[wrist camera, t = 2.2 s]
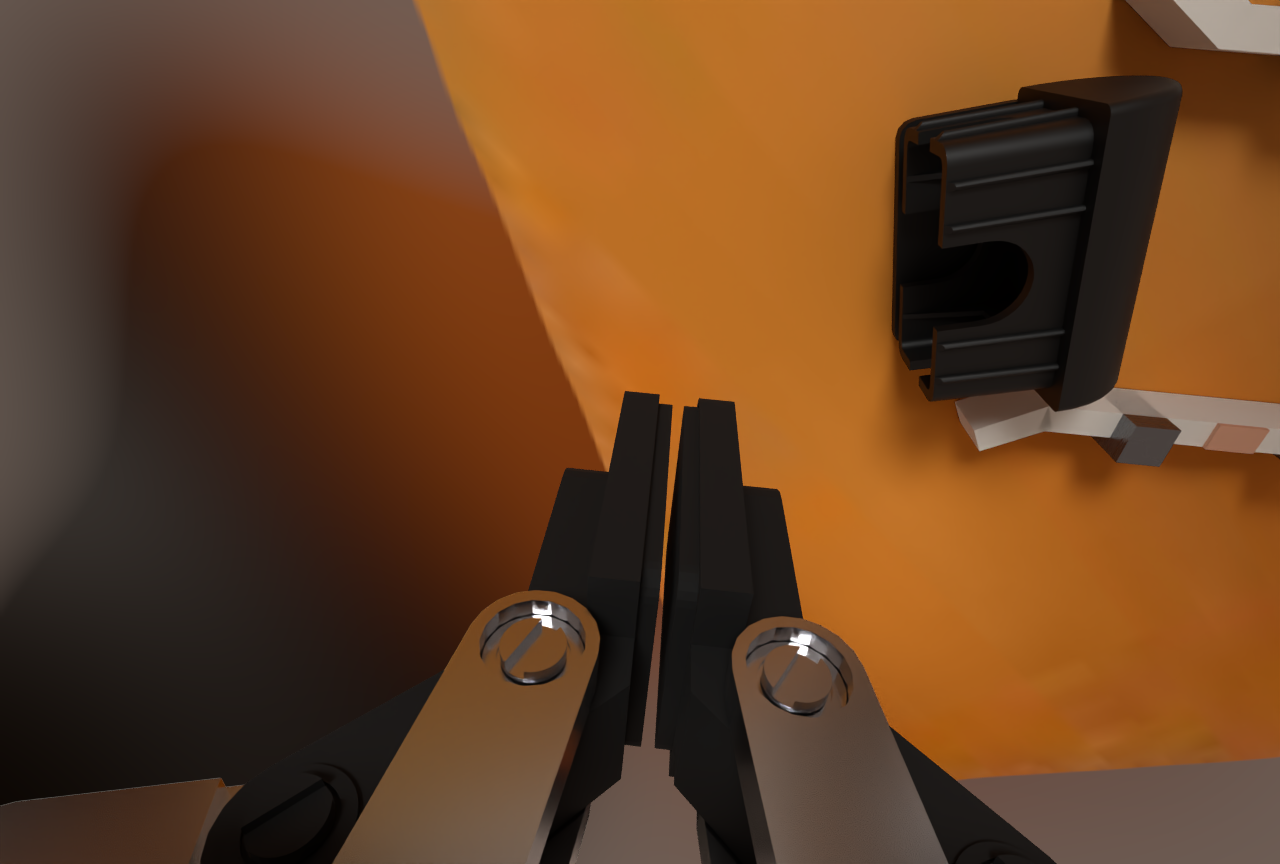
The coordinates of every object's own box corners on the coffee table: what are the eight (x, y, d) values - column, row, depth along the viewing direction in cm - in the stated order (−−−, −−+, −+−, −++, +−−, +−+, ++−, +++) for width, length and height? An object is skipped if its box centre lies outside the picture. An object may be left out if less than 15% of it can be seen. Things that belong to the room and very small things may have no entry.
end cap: (1060, 327, 28) (1153, 404, 22) (890, 349, 29) (937, 428, 23) (1104, 67, 23) (1239, 81, 17) (895, 106, 24) (956, 132, 18)
